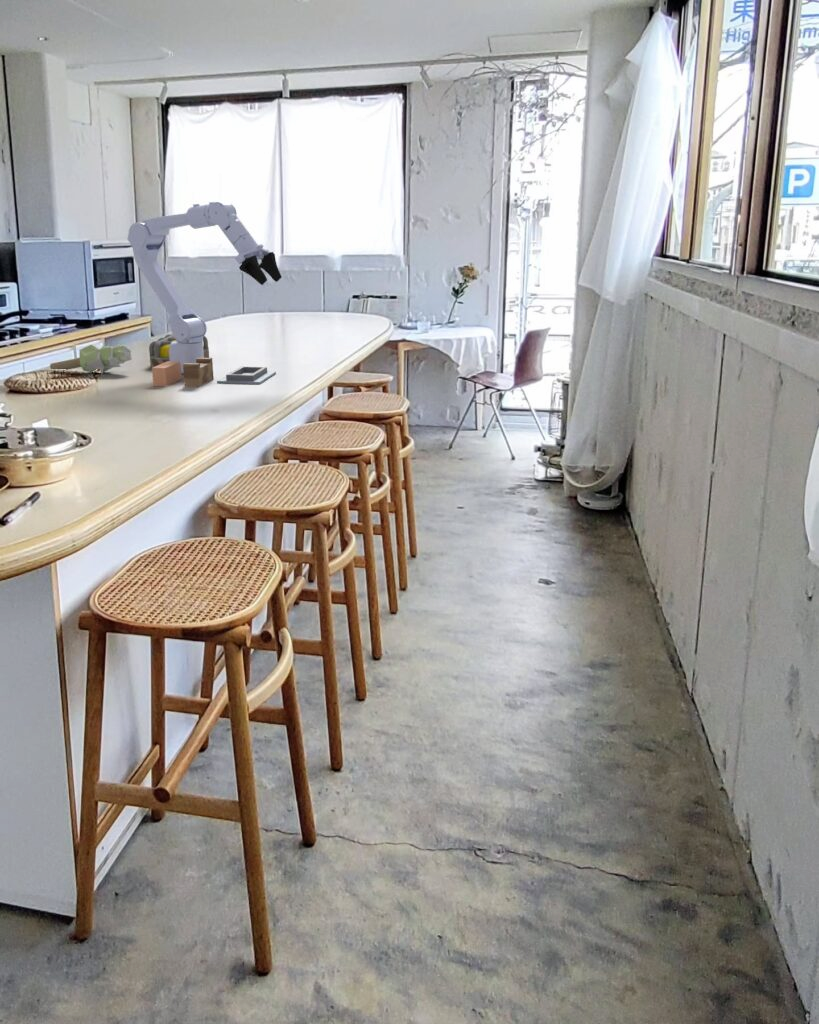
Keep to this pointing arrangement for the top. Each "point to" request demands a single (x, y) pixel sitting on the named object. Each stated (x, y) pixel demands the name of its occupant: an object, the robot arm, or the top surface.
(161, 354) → the cage light
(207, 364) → the tan notched block
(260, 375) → the jig
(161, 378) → the salmon pink cuboid
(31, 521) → the top surface
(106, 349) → the decorative object
